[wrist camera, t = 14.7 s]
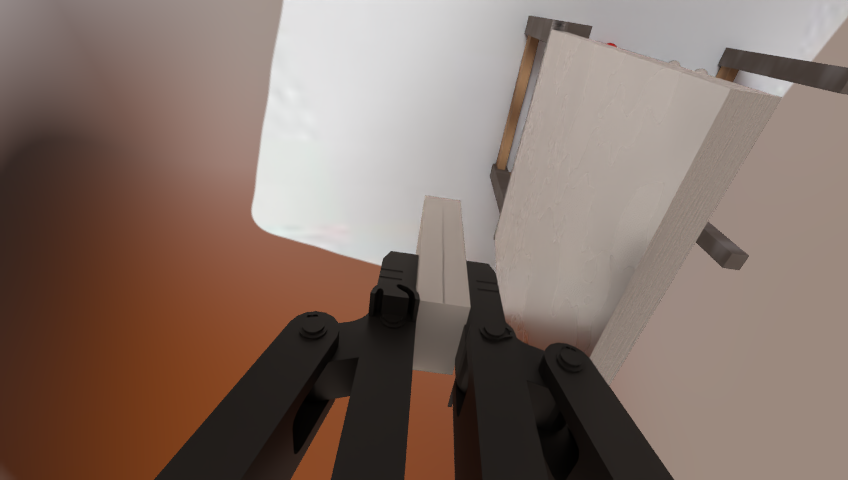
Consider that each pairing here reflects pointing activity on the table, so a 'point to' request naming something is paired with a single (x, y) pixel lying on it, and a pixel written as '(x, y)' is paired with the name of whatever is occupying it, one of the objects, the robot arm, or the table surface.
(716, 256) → the housing
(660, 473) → the robot arm
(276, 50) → the table surface
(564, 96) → the lid
